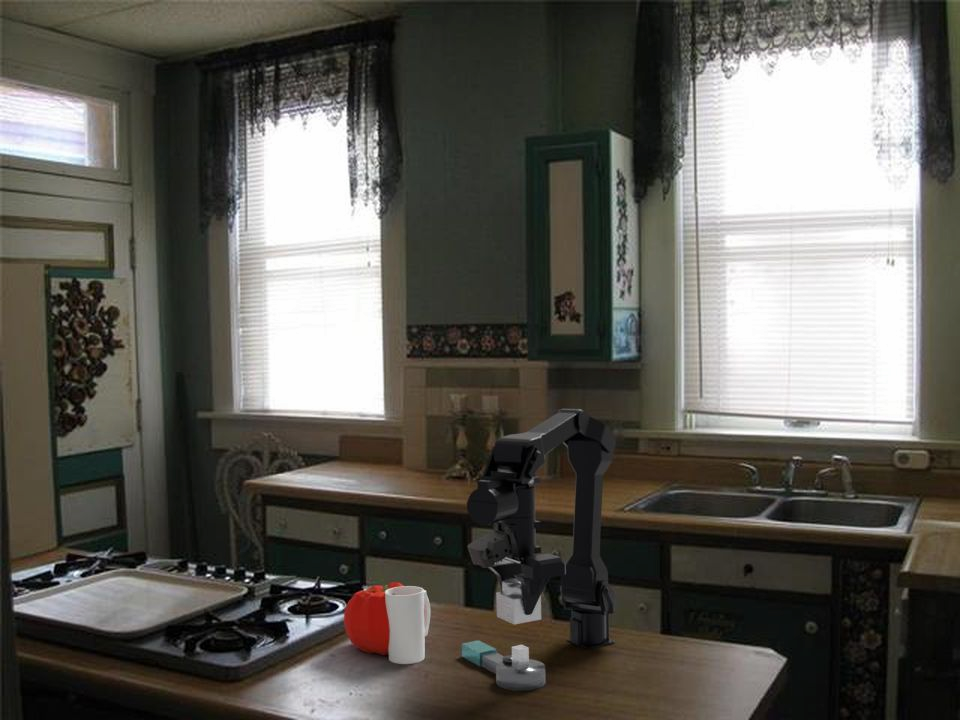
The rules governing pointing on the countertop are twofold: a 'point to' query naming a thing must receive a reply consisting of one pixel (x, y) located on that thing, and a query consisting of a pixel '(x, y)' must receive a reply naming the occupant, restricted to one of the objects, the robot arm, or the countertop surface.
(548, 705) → the countertop surface
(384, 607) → the tomato
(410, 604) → the mug
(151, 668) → the countertop surface
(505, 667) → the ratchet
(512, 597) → the cylinder with square end
